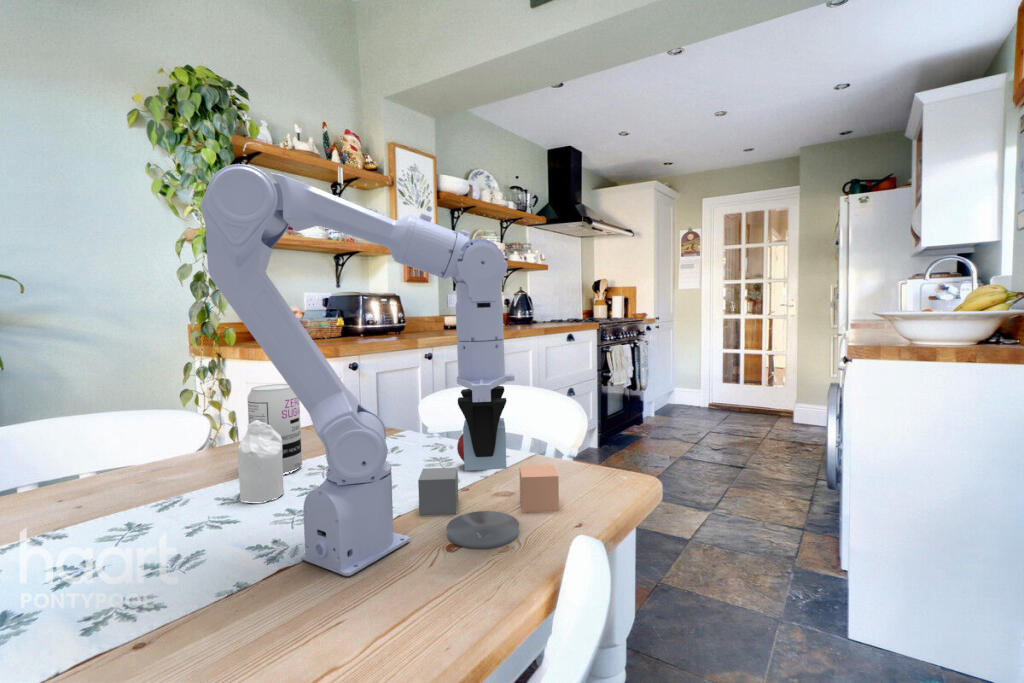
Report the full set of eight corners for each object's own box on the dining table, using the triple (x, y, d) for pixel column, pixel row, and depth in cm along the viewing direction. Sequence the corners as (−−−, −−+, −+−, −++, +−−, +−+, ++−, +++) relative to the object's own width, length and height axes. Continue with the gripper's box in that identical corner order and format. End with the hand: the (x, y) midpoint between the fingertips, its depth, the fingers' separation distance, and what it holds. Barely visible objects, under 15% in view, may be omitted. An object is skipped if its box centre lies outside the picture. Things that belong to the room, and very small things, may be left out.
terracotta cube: (558, 511, 68) (558, 476, 68) (522, 513, 68) (521, 477, 67) (553, 498, 73) (553, 464, 72) (520, 499, 73) (519, 465, 72)
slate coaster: (493, 555, 56) (493, 548, 56) (431, 538, 60) (431, 531, 60) (532, 525, 63) (532, 519, 63) (474, 511, 68) (474, 506, 68)
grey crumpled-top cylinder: (279, 413, 78) (282, 420, 73) (283, 488, 79) (285, 499, 74) (236, 418, 75) (235, 425, 70) (240, 495, 76) (239, 507, 71)
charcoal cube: (456, 514, 67) (455, 478, 67) (419, 516, 67) (418, 480, 67) (458, 500, 72) (457, 467, 72) (423, 502, 72) (423, 468, 72)
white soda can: (255, 466, 90) (251, 385, 89) (304, 461, 93) (301, 382, 92) (246, 480, 83) (241, 391, 82) (299, 475, 85) (296, 388, 84)
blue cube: (506, 468, 59) (505, 427, 59) (464, 470, 59) (462, 429, 58) (504, 455, 64) (503, 417, 64) (466, 457, 64) (464, 419, 63)
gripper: (516, 342, 53) (520, 466, 54) (510, 335, 68) (513, 433, 69) (451, 345, 53) (456, 469, 54) (458, 337, 68) (462, 435, 68)
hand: (484, 449), depth 61 cm, fingers closed on blue cube, 5 cm apart
